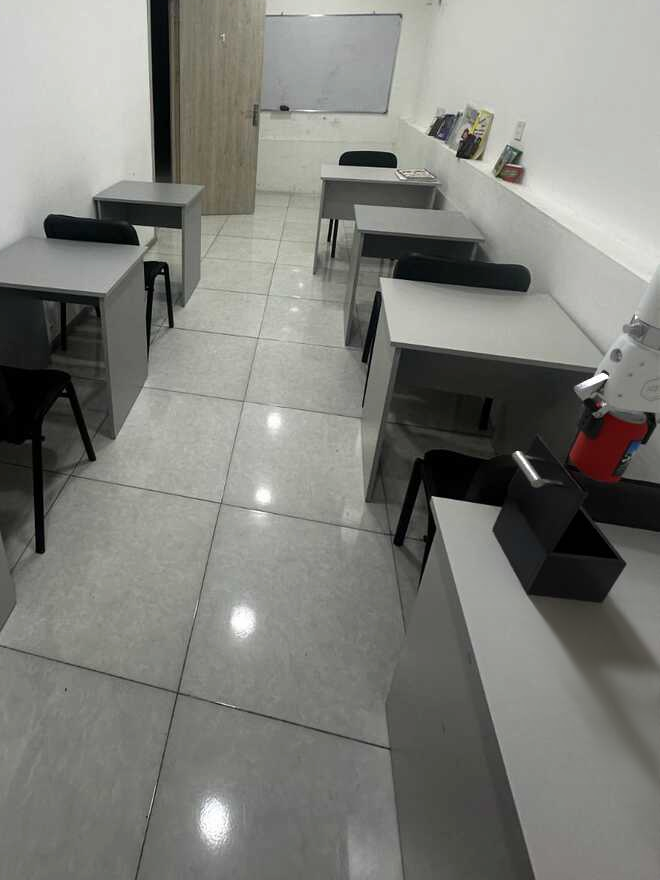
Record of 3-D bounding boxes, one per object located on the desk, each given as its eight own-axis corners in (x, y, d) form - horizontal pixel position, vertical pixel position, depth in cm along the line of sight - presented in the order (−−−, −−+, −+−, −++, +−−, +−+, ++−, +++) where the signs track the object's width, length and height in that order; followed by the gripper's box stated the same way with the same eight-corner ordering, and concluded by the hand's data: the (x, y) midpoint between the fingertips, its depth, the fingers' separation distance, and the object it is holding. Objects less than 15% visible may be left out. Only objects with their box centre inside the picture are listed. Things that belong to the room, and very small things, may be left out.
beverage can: (626, 492, 72) (662, 430, 68) (575, 478, 74) (606, 417, 69) (608, 461, 78) (640, 402, 74) (561, 449, 80) (589, 390, 75)
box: (557, 536, 91) (577, 499, 87) (602, 603, 79) (627, 564, 76) (491, 529, 91) (508, 492, 87) (526, 594, 80) (547, 555, 76)
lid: (541, 434, 82) (508, 429, 82) (588, 492, 70) (550, 487, 70) (511, 490, 87) (480, 486, 87) (551, 553, 76) (515, 548, 76)
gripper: (618, 343, 63) (567, 447, 70) (753, 356, 63) (688, 459, 70) (581, 316, 70) (539, 414, 77) (703, 328, 69) (649, 424, 77)
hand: (610, 434), depth 73 cm, fingers closed on beverage can, 6 cm apart
